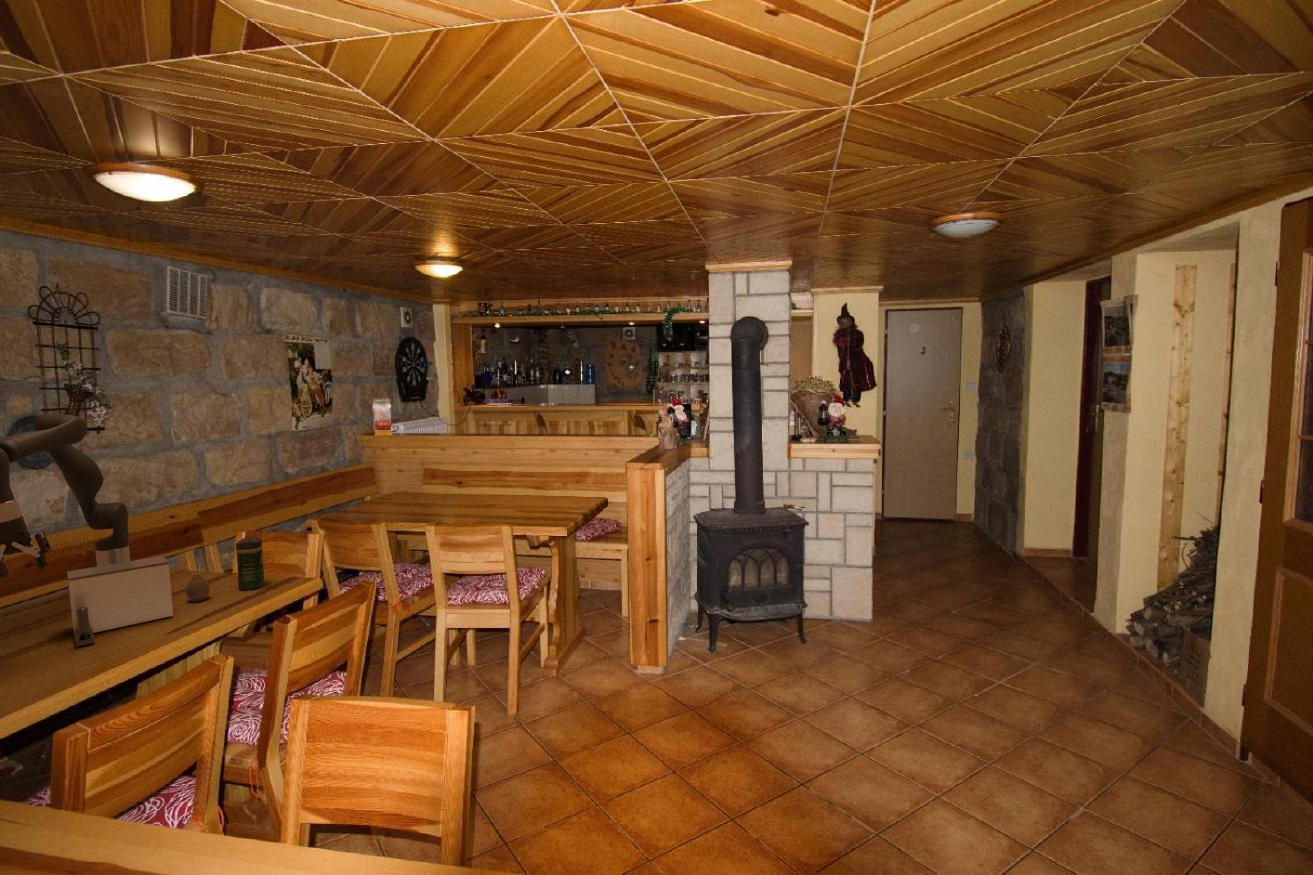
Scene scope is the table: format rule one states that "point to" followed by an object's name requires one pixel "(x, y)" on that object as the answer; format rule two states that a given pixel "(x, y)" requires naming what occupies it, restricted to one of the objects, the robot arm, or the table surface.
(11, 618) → the table surface
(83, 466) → the robot arm
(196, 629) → the table surface
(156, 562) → the block
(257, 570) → the coffee jar
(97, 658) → the table surface
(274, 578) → the table surface
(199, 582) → the vase
